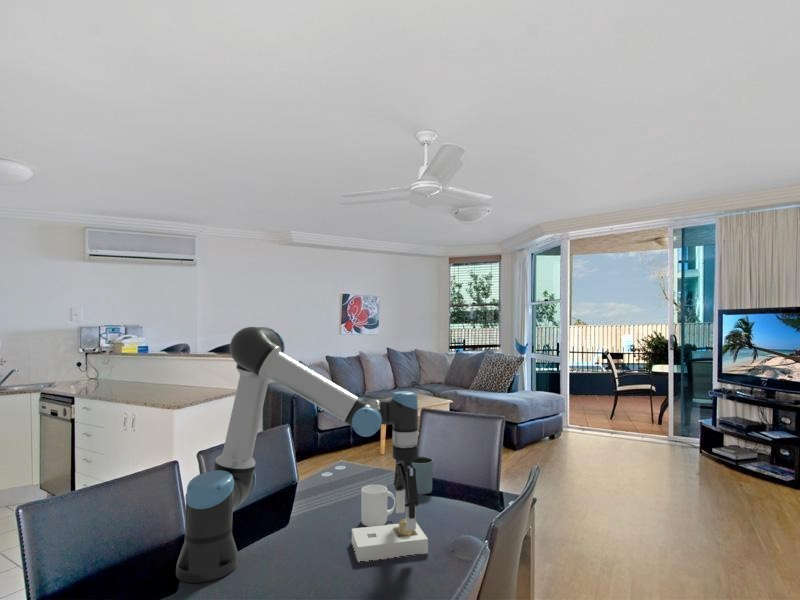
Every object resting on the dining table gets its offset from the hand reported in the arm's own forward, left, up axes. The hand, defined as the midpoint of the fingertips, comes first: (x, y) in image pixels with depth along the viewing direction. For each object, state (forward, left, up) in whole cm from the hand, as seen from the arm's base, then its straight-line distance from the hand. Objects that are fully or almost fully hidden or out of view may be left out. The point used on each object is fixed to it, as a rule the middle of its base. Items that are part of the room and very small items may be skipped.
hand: (405, 520), depth 131 cm
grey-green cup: (+18, +44, -7) cm, 48 cm away
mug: (-4, +19, -7) cm, 21 cm away
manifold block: (-5, 0, -7) cm, 9 cm away
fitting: (0, 0, -7) cm, 7 cm away
